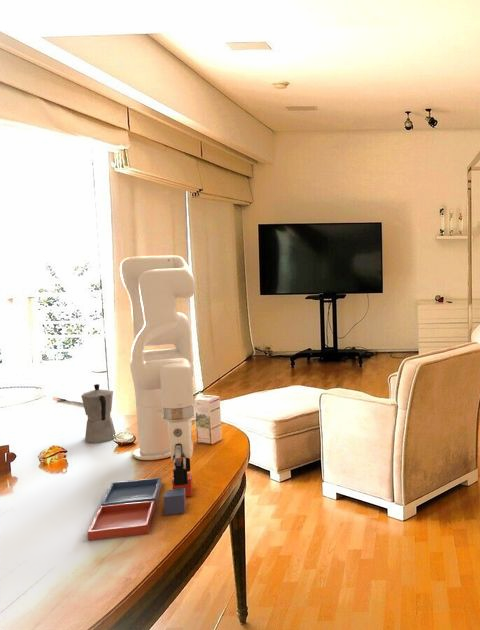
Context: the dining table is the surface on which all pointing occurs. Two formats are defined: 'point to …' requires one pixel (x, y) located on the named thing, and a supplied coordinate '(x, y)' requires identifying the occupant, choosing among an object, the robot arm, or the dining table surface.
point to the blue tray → (132, 491)
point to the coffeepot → (98, 415)
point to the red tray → (122, 520)
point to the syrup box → (208, 419)
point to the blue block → (175, 501)
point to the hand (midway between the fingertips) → (182, 477)
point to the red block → (187, 487)
